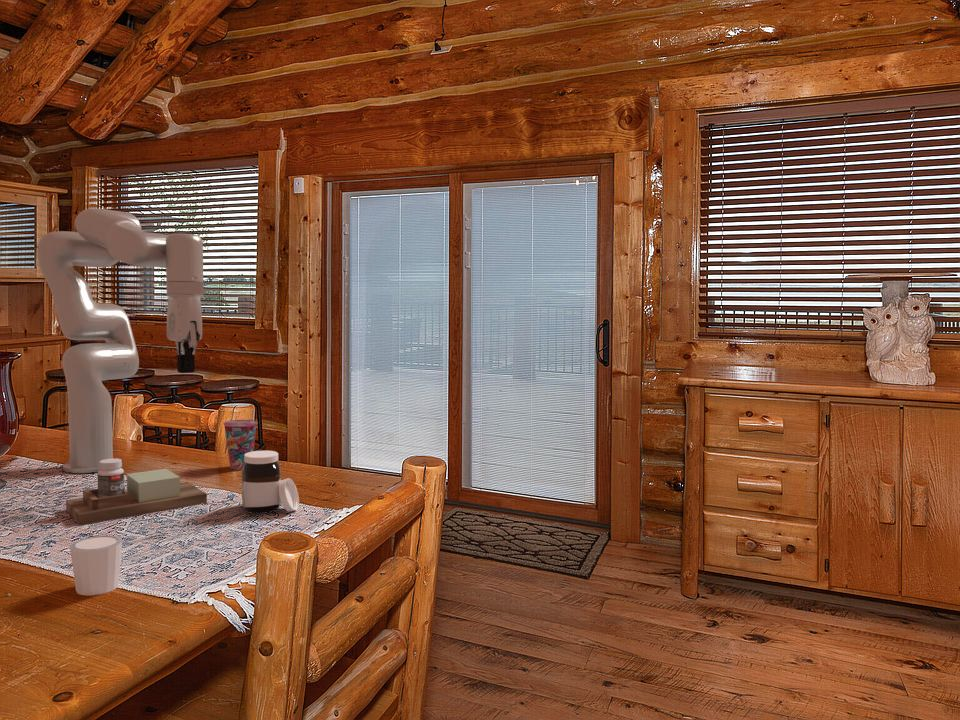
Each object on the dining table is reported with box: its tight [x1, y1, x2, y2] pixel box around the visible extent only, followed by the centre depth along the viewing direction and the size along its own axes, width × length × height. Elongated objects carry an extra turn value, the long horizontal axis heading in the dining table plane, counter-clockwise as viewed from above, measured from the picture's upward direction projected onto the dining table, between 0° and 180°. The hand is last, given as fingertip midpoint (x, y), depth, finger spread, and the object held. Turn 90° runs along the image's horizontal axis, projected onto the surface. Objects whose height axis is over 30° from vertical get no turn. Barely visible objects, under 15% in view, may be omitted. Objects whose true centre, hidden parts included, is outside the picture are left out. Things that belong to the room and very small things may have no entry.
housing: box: [65, 481, 208, 526], centre depth 142 cm, size 12×24×4 cm, turn 132°
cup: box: [223, 419, 259, 471], centre depth 175 cm, size 9×8×12 cm
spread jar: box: [241, 450, 300, 514], centre depth 142 cm, size 12×11×12 cm
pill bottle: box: [97, 457, 125, 498], centre depth 138 cm, size 5×5×8 cm
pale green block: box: [126, 468, 181, 502], centre depth 143 cm, size 9×8×4 cm
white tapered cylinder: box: [69, 534, 123, 596], centre depth 102 cm, size 7×7×7 cm
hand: (186, 372), depth 152 cm, fingers closed
